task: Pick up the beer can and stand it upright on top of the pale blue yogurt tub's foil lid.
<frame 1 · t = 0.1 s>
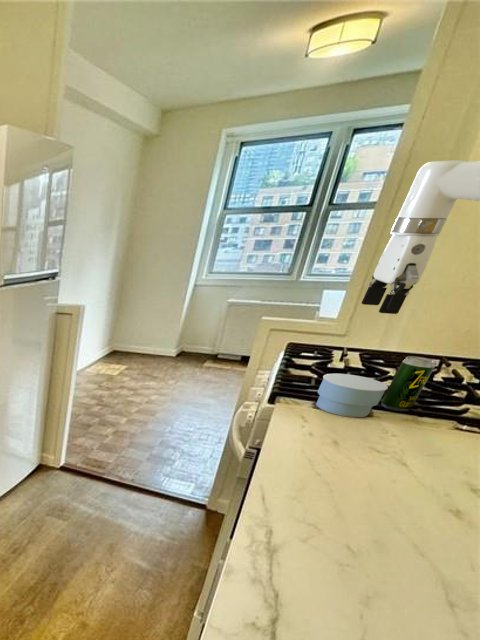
hand: (378, 308, 111), 22 cm above the worktop, tool pointing down, fingers open, 9 cm apart
beer can: (394, 408, 117), on the worktop
yogurt tub: (341, 409, 116), on the worktop
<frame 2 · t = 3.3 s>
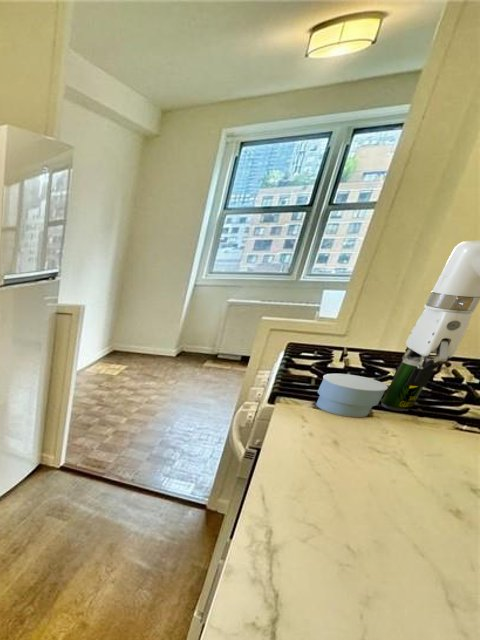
hand: (409, 380, 113), 7 cm above the worktop, tool pointing down, fingers closed on beer can, 5 cm apart
beer can: (394, 408, 117), on the worktop, touching gripper
everything else where it was.
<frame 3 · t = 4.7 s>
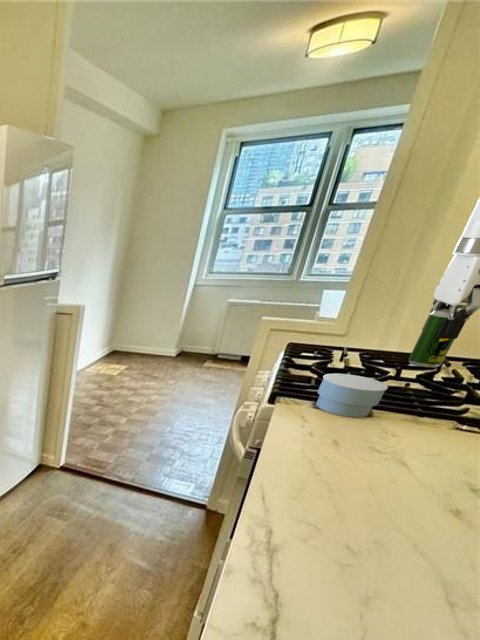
hand: (438, 334, 108), 18 cm above the worktop, tool pointing down, fingers closed on beer can, 5 cm apart
beer can: (423, 365, 111), point 11 cm above the worktop, touching gripper
everything else where it was.
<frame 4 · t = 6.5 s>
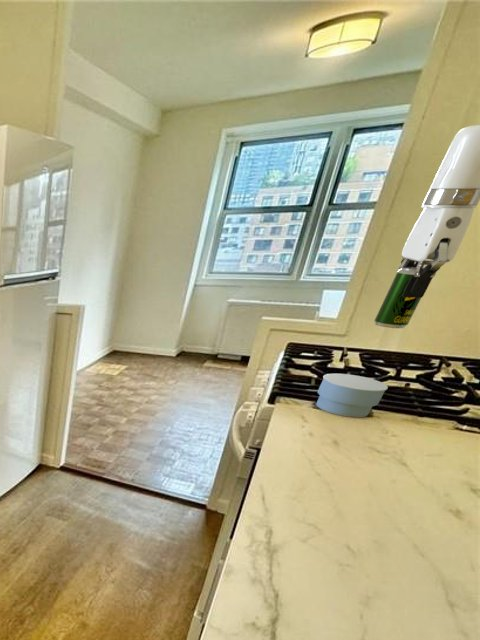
hand: (405, 293, 103), 27 cm above the worktop, tool pointing down, fingers closed on beer can, 5 cm apart
beer can: (388, 326, 107), point 20 cm above the worktop, touching gripper
everything else where it was.
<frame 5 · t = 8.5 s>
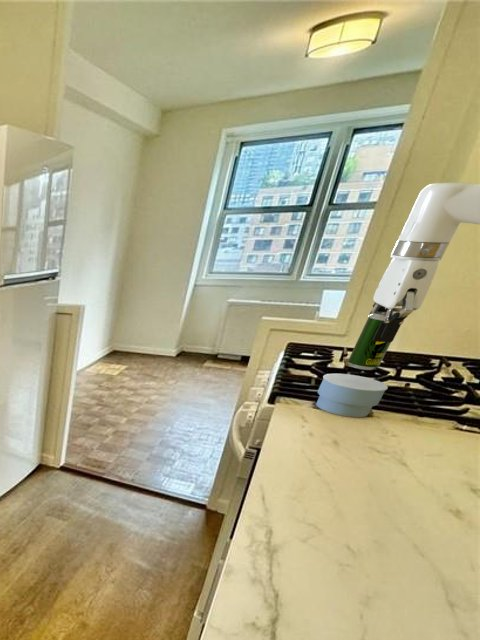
hand: (376, 337, 108), 18 cm above the worktop, tool pointing down, fingers closed on beer can, 5 cm apart
beer can: (361, 367, 111), point 10 cm above the worktop, touching gripper
everything else where it was.
when the fingers open (14 cm above the worktop, at t = 9.9 s): beer can stays where it is, resting on yogurt tub.
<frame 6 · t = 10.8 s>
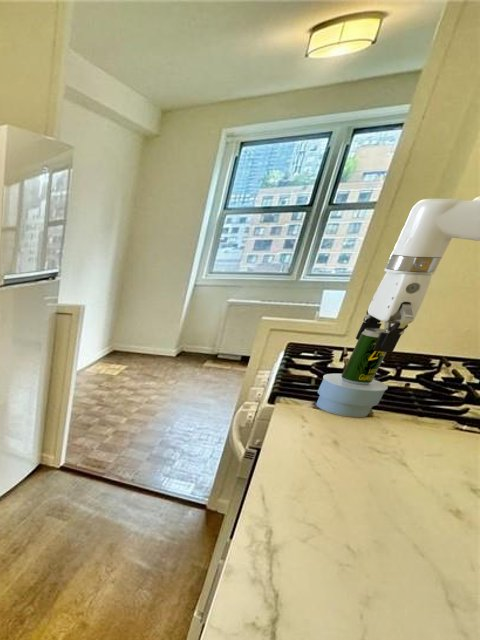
hand: (372, 345, 109), 16 cm above the worktop, tool pointing down, fingers open, 9 cm apart
beer can: (354, 382, 113), point 7 cm above the worktop, touching yogurt tub
yogurt tub: (341, 409, 116), on the worktop, touching beer can
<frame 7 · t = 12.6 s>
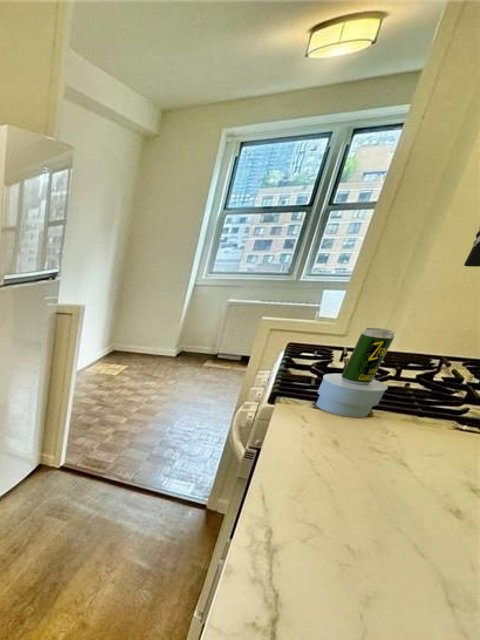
nothing on the worktop moved.
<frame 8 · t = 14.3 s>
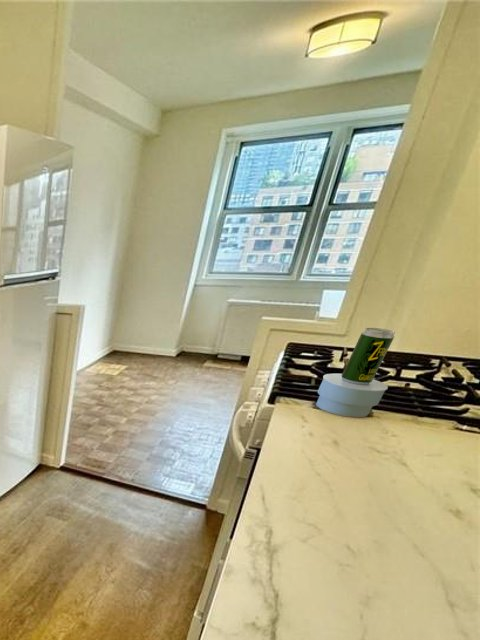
nothing on the worktop moved.
at the end: beer can 0.0 cm off-centre on the yogurt tub, point 6.8 cm above the yogurt tub's base; beer can tilted 0°; yogurt tub moved 0.0 cm from its start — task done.
